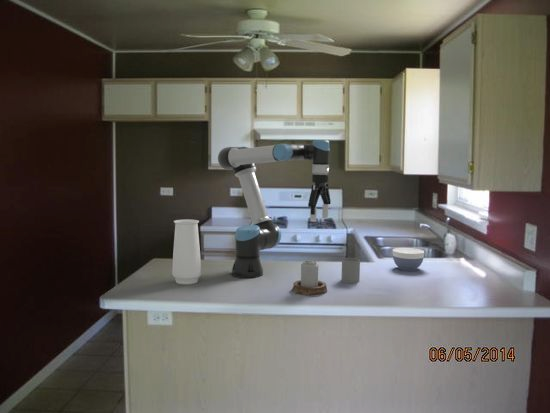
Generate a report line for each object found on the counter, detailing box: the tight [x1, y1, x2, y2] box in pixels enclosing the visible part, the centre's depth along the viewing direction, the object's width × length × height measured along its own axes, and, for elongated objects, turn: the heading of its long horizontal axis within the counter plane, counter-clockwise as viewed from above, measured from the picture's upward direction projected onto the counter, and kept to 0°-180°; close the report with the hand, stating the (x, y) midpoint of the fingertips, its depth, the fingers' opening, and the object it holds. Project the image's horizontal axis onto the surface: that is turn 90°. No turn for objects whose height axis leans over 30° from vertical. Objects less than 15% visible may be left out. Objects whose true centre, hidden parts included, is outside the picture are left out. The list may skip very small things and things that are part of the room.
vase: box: [172, 218, 202, 285], centre depth 239 cm, size 13×13×28 cm
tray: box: [292, 279, 328, 297], centre depth 229 cm, size 15×15×3 cm
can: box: [300, 259, 319, 287], centre depth 228 cm, size 8×8×12 cm
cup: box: [341, 257, 361, 284], centre depth 246 cm, size 8×8×10 cm
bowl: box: [392, 247, 425, 272], centre depth 272 cm, size 16×16×10 cm
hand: (319, 219), depth 244 cm, fingers open, 13 cm apart
